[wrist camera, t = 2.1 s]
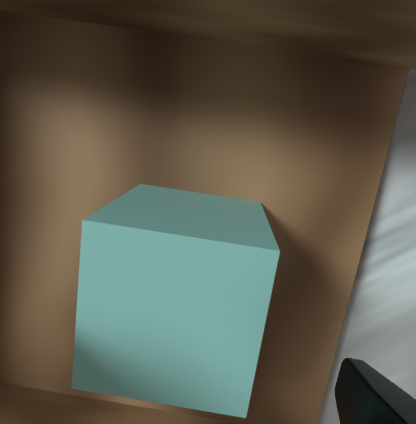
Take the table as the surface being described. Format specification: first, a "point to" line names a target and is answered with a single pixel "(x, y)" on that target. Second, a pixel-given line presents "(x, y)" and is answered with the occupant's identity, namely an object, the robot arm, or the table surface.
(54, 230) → the crate
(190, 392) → the block
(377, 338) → the table surface
